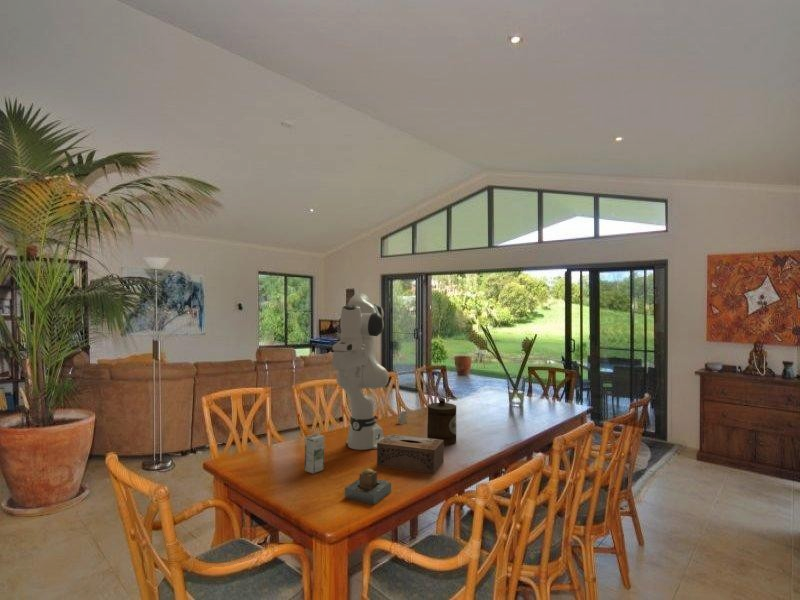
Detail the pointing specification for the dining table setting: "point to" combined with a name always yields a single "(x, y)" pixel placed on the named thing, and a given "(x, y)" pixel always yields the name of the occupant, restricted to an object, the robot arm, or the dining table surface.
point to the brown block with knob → (368, 479)
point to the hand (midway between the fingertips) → (350, 378)
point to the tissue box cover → (410, 453)
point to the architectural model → (402, 417)
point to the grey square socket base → (368, 492)
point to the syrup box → (314, 453)
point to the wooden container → (442, 422)
